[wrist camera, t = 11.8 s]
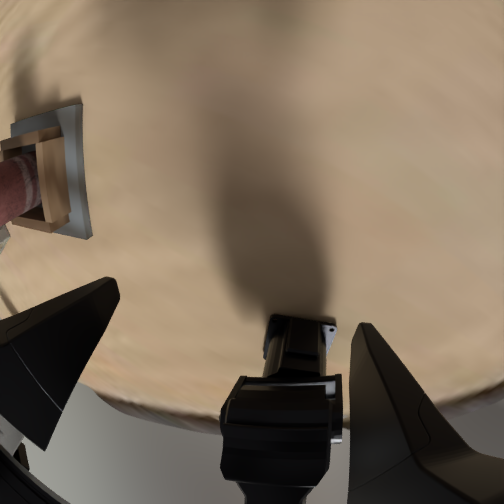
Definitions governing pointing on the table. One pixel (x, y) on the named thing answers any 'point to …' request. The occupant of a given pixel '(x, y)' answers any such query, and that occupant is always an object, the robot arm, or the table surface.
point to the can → (18, 186)
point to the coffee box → (3, 237)
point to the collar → (54, 170)
